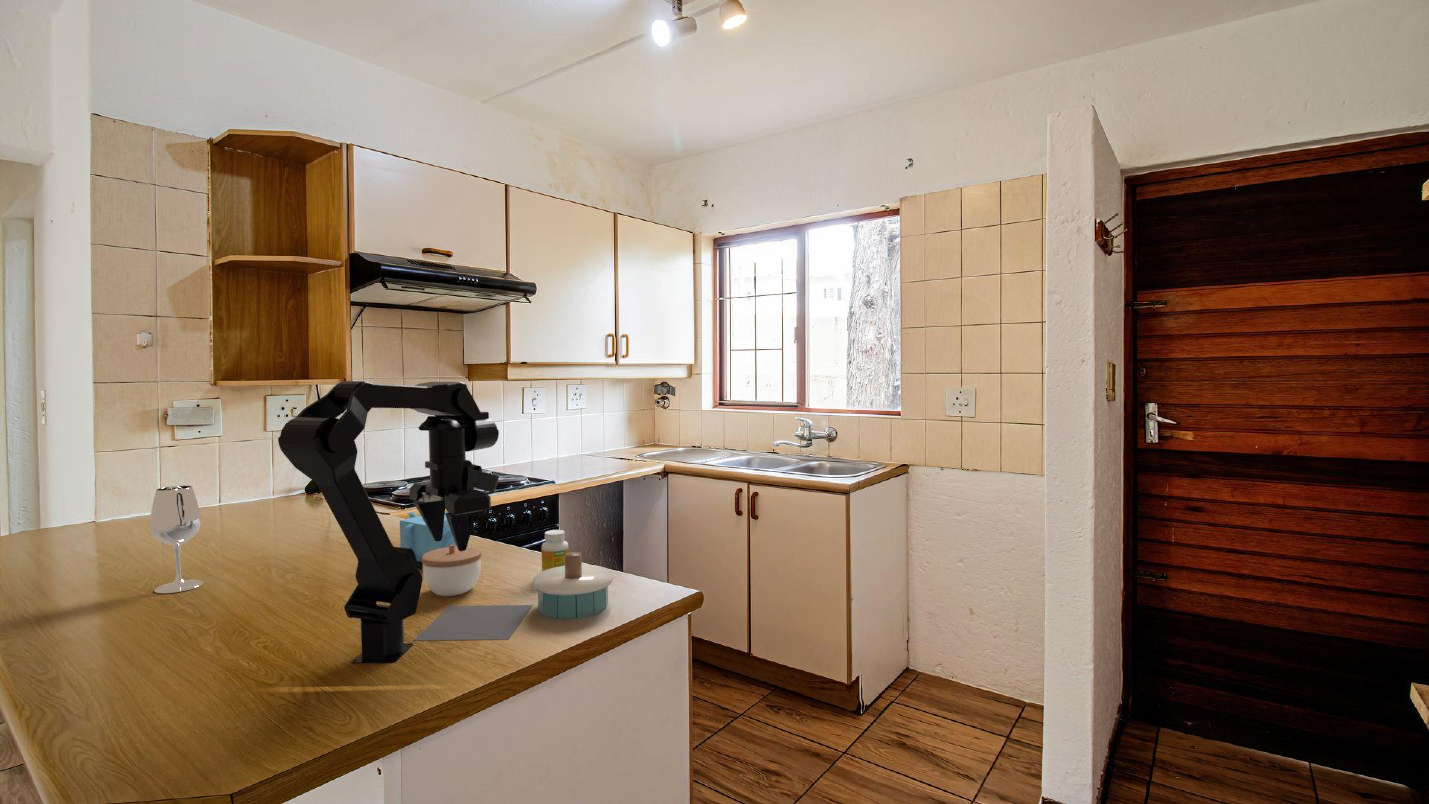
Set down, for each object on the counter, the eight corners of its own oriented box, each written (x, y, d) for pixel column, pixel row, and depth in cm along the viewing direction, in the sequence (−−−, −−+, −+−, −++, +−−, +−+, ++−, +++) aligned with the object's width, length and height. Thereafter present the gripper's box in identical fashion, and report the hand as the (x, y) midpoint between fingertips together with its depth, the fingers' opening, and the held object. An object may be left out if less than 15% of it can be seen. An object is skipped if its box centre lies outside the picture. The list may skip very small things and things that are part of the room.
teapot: (428, 575, 138) (426, 522, 137) (378, 562, 147) (376, 512, 147) (489, 556, 151) (488, 508, 151) (439, 545, 161) (438, 500, 160)
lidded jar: (462, 604, 121) (460, 554, 120) (410, 600, 123) (408, 551, 122) (492, 585, 131) (492, 539, 131) (444, 582, 133) (443, 536, 133)
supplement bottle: (555, 584, 132) (554, 536, 131) (536, 579, 135) (535, 533, 134) (574, 577, 136) (573, 530, 136) (555, 572, 139) (555, 527, 139)
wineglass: (145, 590, 129) (140, 489, 128) (192, 578, 136) (187, 483, 135) (165, 596, 125) (160, 493, 124) (211, 584, 132) (207, 486, 131)
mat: (508, 642, 104) (508, 639, 104) (413, 643, 104) (413, 640, 104) (532, 607, 119) (532, 604, 119) (449, 608, 119) (449, 605, 119)
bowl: (602, 621, 113) (601, 592, 112) (531, 622, 112) (531, 593, 112) (611, 597, 125) (611, 571, 124) (548, 597, 124) (547, 571, 124)
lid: (606, 594, 111) (606, 565, 111) (524, 595, 111) (523, 566, 111) (617, 569, 125) (616, 543, 125) (543, 570, 125) (543, 544, 125)
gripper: (518, 455, 111) (520, 546, 112) (467, 446, 124) (469, 528, 125) (454, 462, 103) (457, 560, 104) (407, 452, 116) (409, 539, 117)
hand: (450, 545), depth 112 cm, fingers open, 9 cm apart
